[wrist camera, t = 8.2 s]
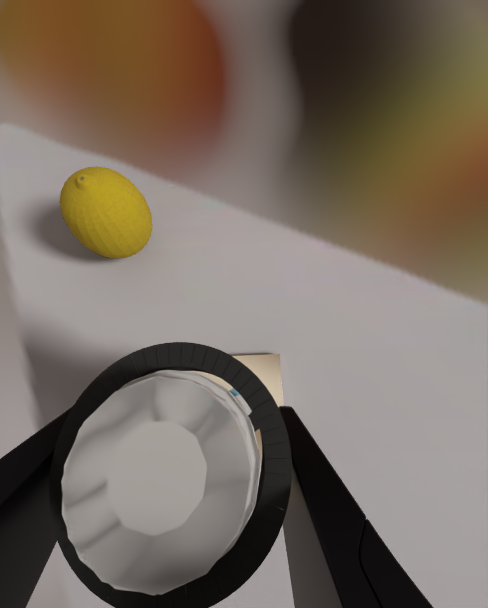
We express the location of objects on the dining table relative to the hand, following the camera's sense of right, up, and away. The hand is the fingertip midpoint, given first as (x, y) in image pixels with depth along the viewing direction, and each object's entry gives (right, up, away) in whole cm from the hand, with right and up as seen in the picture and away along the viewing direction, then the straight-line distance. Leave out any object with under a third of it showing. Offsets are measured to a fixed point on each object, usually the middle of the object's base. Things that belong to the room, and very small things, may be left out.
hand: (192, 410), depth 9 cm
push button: (0, -3, +6) cm, 7 cm away
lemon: (-8, +8, +16) cm, 20 cm away
